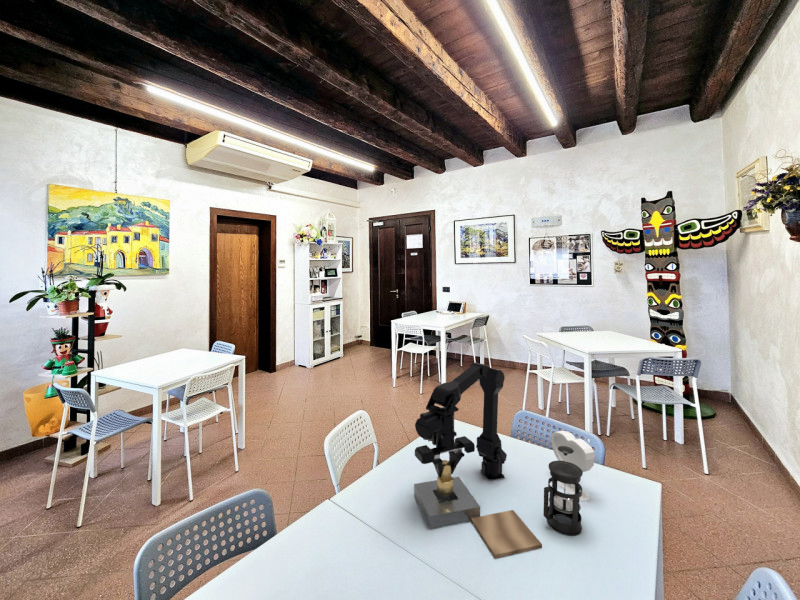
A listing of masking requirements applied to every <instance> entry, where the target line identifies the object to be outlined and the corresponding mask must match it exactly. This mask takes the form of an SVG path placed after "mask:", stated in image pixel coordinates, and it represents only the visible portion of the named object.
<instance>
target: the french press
mask: <svg viewBox="0 0 800 600" xmlns="http://www.w3.org/2000/svg"><path fill="white" fill-rule="evenodd" d="M558 450H559V451H560V452H563V453H564V455H565V461H558V460H553V461H550V462H549V463H548V467H547V468H548V470H549V474H550V475H549V476H550V477H549V478H548V481H547V486H545V487H543V513H542V514H543V517H544V518H545V519H546V523H547V525H548V526H549V527H550V528H551V529H552V530H554V531H555V532H556V533H558V534H561V535H565V536H568V537H574V536H578V535H580V534H581V533H582V531H583V525H582V515H581V513H580V511H581V508H582V507H581V504H580V502H581V500H580V497H581V496H582V491H583V487H582V485H581V484H580V483H581V480H582V476H583V473H584V472H582V470H581V469H580V468H579V467H578V466H577V465H575V464H573V463H570V462H566V456H567V454H571V453H573V452H574V450H573V449H572V448H570V447H567V446H559V447H558ZM557 481H559V482H562V483H564V488H563V492H561V491H559V490H558V483H557ZM566 484H574V485H575V494H570V493H566V490H565V489H566ZM580 490H581V492H580ZM555 516H565V517H568V518H569V519H571V522H572V523H569V522H568V523H566V522H563V521H560V520H558V519H557V518H555Z"/></svg>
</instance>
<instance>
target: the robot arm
mask: <svg viewBox="0 0 800 600" xmlns="http://www.w3.org/2000/svg"><path fill="white" fill-rule="evenodd" d="M478 381H479V386H480V387H481V389H482V391H483V410H482V411H483V413H482V415H483V416H482V431H481V434H480V435H479V436H477V437H476V445H475V443H474V442H473V441H472V440H471V439H469V438H468V437H467V436H466V435H464V436H459V437H457V434H458V433H457V432H456V431H455V413H456V412H458V411H459V407H457V404H458V403H459V402H460V401H461V399H462V395H463V394H464V393H465V392H466V391H467V390H468V389H469V388H471V387H472V386H473V385H474V384H475V383H477V382H478ZM504 382H505V373H504V372H503V371H502V370H501V369H497V368H493V367H490V366H487V365H486V364H484V363H480V362H472V364H471V365H470V367H468V368H467V369H466V370H464V371H463V372H462V373H460V374H459V375H458V376H456V377H455V378H454V379H453V380H451V381H448V382H447V381H446V382H443V383H441V384H439V385H437V386H435V387H434V389H433V391H432V393H431V395H430V397H429V399H428V401H427V404H426V407H425V410H428V411H427V412H422V413H420V414H419V418H417V419H416V421H415V423H414V426H415V431H416V434H417V435H418V436H419V437H420V438H421V439H423V440H424V441H427V442H431V444H432V445H433V446H435V447H432V448H430V447H429V446H428V445H427V444H425V445H421V446H416V448H415V449H414V456H415V458H416V459H417V460H418V461H419V462H420V463H421V464H422V465H427V464H430V463H432V464H433V466H434V468H435V472H436V474H437V477H439V478H441V474H442V462H443V461H442V458H441V454H445V453H448V457H449V459H448V461H450V462H451V476H452V475H453V474H454V472H455V470H456V469H457V466H458V464H459V463H460V462H461V460H462V458H464V457H465V453H466V454H470V453H474V452H475V451H476V450H477V453H478V456H479V457H481V458H482V461H481V469H480V472H481V473H482V474H483V476H484V477H485V478H486V480H488V481H493V480H500V479H504V478H505V475H504V474H503V465H504V464H505V462H506V461H507V456H508V455H507V453H506V452H505V451H504V450H503V448H502V447H503V446H502V440H501V438H500V436H499V434H498V416H499V415H498V414H499V413H498V410H499V409H498V408H499V393H500V392H501V390H502V389H503V387H504ZM440 406H441V407H440ZM455 437H456V438H455ZM475 448H476V450H475ZM463 450H464V452H465V453H464V452H463Z"/></svg>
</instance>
